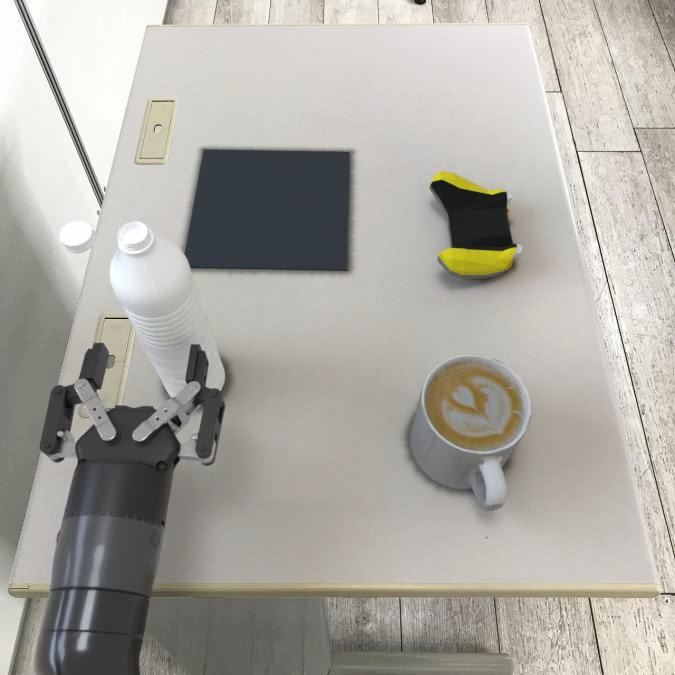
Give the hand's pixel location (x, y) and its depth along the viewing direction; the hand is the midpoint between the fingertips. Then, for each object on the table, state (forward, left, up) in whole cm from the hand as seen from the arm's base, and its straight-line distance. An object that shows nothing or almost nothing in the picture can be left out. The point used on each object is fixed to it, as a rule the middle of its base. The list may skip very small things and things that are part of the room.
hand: (150, 347), depth 57 cm
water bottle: (-1, +3, -13) cm, 14 cm away
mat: (-5, +29, -13) cm, 32 cm away
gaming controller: (+20, +35, -13) cm, 42 cm away
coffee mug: (+29, +8, -13) cm, 33 cm away
